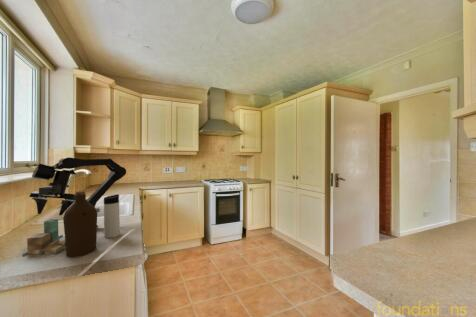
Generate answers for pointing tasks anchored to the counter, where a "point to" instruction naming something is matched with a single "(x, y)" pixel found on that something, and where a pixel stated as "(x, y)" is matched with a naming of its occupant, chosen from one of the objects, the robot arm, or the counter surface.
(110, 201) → the travel mug
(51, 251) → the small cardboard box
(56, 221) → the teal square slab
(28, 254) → the lane tray
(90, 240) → the olive oil
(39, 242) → the cube
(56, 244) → the tan square block
